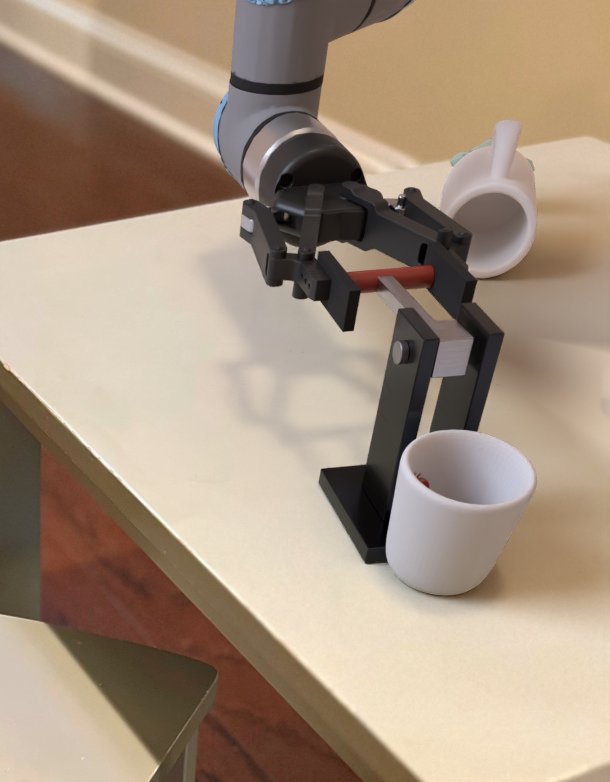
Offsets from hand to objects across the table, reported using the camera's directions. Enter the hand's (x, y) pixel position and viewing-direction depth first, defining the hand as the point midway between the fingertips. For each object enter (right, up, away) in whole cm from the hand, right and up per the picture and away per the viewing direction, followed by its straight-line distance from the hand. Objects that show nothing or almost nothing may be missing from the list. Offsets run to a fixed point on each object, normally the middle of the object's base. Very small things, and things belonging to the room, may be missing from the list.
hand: (409, 306), depth 76 cm
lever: (0, -2, 0) cm, 2 cm away
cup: (+2, -16, +1) cm, 16 cm away
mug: (+18, +18, +35) cm, 43 cm away
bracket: (+1, -13, +4) cm, 13 cm away
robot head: (+21, +26, +43) cm, 54 cm away
